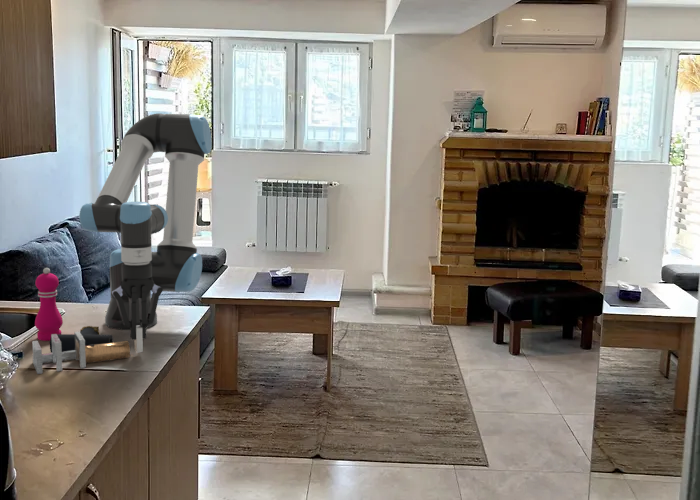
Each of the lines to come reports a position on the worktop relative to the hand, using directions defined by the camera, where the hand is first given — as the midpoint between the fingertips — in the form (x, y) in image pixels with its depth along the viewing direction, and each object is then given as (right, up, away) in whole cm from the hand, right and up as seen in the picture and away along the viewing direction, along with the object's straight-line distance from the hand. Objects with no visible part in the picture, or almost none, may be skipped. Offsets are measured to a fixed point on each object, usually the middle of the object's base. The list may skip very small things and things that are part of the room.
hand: (138, 350), depth 194 cm
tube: (-8, -2, -4) cm, 9 cm away
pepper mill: (-29, +2, +14) cm, 32 cm away
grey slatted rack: (-17, -3, -9) cm, 20 cm away
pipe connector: (-16, -1, +6) cm, 17 cm away
